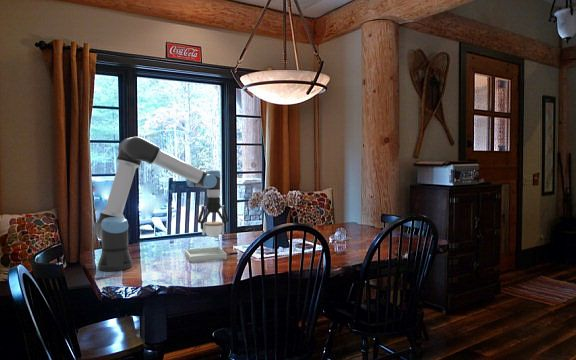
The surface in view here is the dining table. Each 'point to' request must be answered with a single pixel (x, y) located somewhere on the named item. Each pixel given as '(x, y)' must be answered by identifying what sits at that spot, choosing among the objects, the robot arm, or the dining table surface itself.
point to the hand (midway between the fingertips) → (213, 234)
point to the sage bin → (205, 254)
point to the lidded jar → (213, 228)
